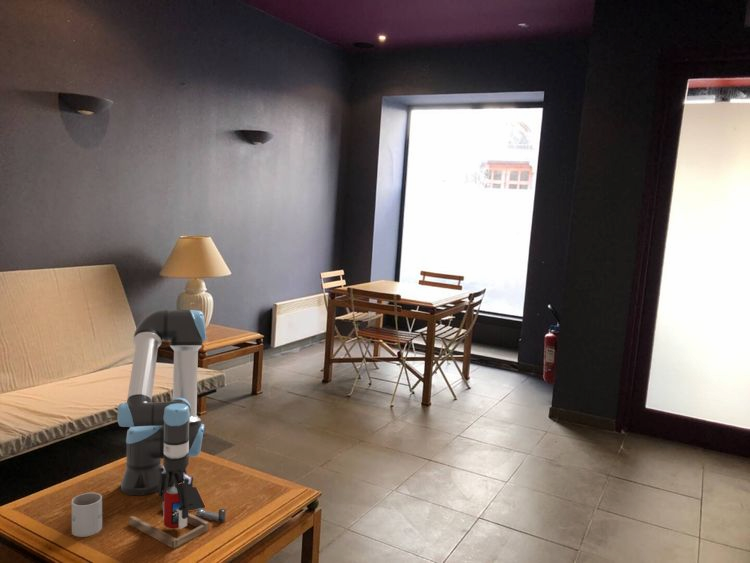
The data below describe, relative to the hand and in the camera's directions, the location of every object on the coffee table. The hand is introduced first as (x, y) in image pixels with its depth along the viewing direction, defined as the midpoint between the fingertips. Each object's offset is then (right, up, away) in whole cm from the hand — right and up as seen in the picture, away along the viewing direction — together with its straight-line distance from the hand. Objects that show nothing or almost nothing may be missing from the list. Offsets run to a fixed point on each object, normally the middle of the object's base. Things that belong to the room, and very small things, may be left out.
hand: (175, 522), depth 186 cm
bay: (-3, -2, +2) cm, 4 cm away
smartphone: (-1, -1, +20) cm, 20 cm away
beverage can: (0, -1, 0) cm, 1 cm away
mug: (-28, -1, 0) cm, 28 cm away
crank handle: (+9, -2, +9) cm, 13 cm away
